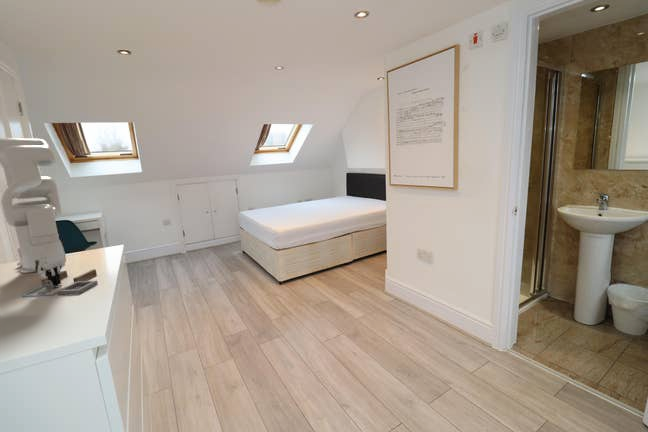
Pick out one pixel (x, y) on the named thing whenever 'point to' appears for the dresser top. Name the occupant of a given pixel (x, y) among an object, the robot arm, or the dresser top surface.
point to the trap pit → (77, 287)
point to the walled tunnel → (78, 278)
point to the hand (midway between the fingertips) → (55, 284)
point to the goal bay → (37, 295)
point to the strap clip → (48, 287)
